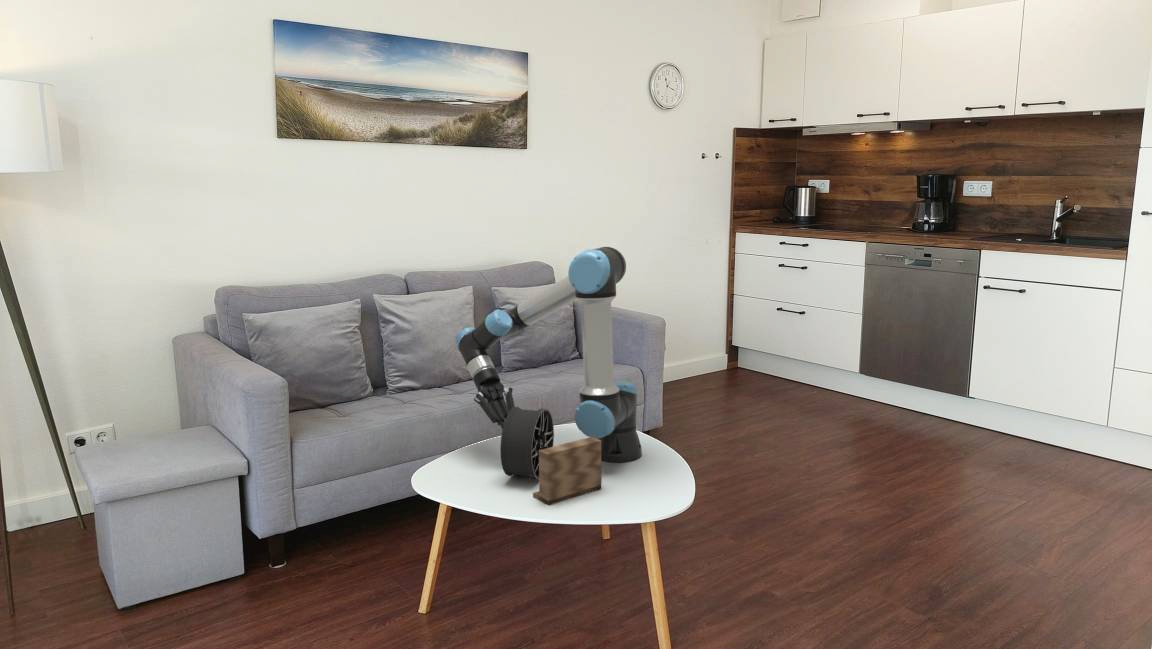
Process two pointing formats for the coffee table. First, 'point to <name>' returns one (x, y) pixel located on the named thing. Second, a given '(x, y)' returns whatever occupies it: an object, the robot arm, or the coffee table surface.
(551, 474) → the stop board
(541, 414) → the wheel rim
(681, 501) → the coffee table surface
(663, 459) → the coffee table surface
